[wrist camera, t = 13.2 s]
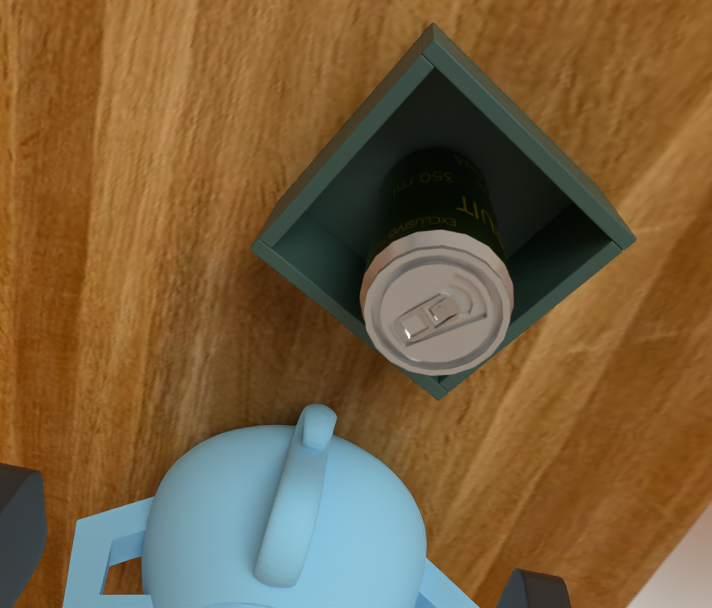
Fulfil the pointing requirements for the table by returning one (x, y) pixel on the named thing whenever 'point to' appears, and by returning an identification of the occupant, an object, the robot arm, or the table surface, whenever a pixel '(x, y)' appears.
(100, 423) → the table surface
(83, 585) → the teapot
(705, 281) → the table surface
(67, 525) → the table surface
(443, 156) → the beer can
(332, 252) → the open box
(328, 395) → the table surface
